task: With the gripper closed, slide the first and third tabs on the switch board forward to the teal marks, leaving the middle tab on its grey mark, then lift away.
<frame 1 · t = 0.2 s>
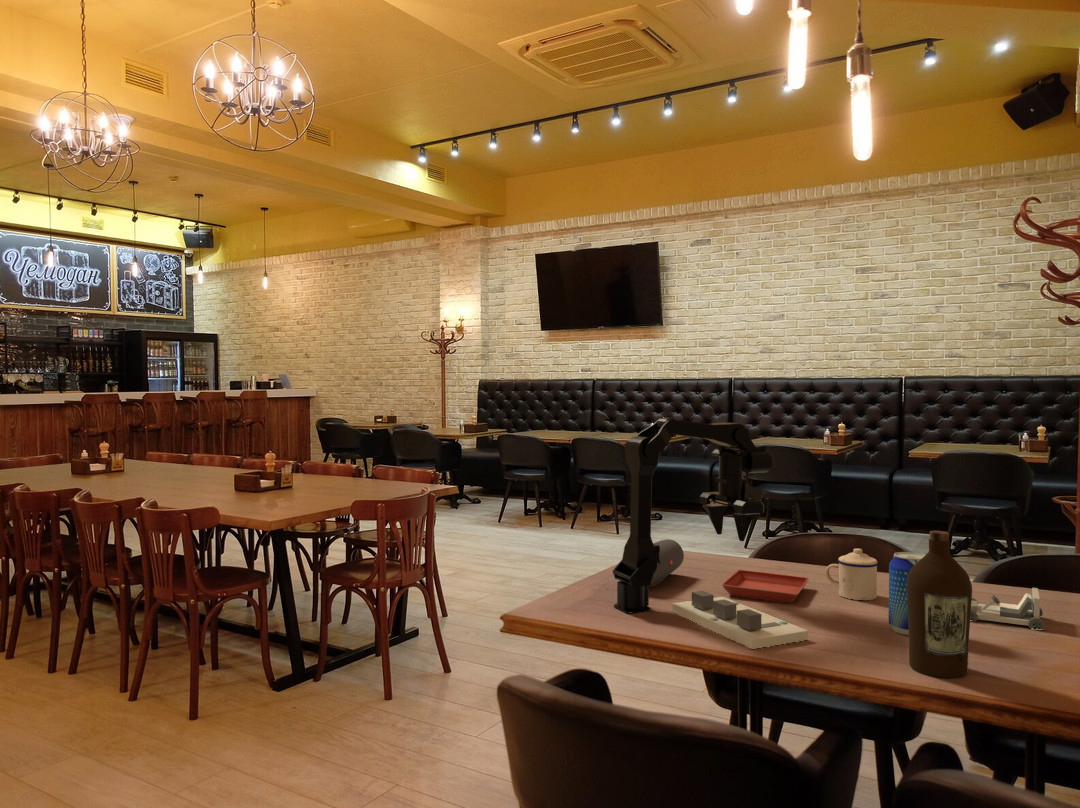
hand: (730, 537, 191), 14 cm above the table, tool pointing down, fingers open, 9 cm apart
tab 2: (724, 609, 166), point 4 cm above the table, slide at 0.0 cm
bluetooth speaker: (654, 583, 205), on the table
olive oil: (937, 670, 141), on the table
tab 3: (749, 619, 159), point 4 cm above the table, slide at 0.0 cm
teacup with lid: (851, 596, 191), on the table
plant saucer: (766, 594, 195), on the table
beer can: (910, 632, 164), on the table
toy car: (995, 620, 173), on the table
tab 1: (702, 600, 174), point 4 cm above the table, slide at 0.0 cm
switch board: (736, 625, 167), on the table
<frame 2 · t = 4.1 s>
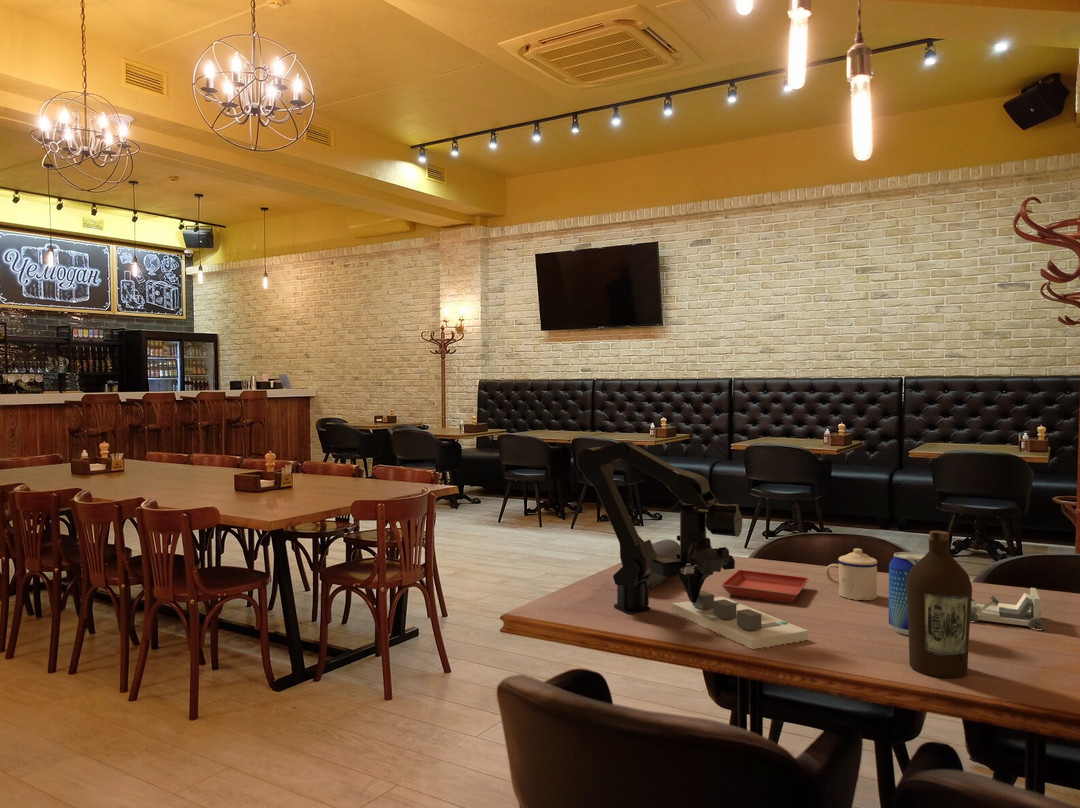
hand: (693, 602, 172), 4 cm above the table, tool pointing down, fingers closed
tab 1: (703, 600, 174), point 4 cm above the table, slide at 0.2 cm, touching gripper
everything else where it was.
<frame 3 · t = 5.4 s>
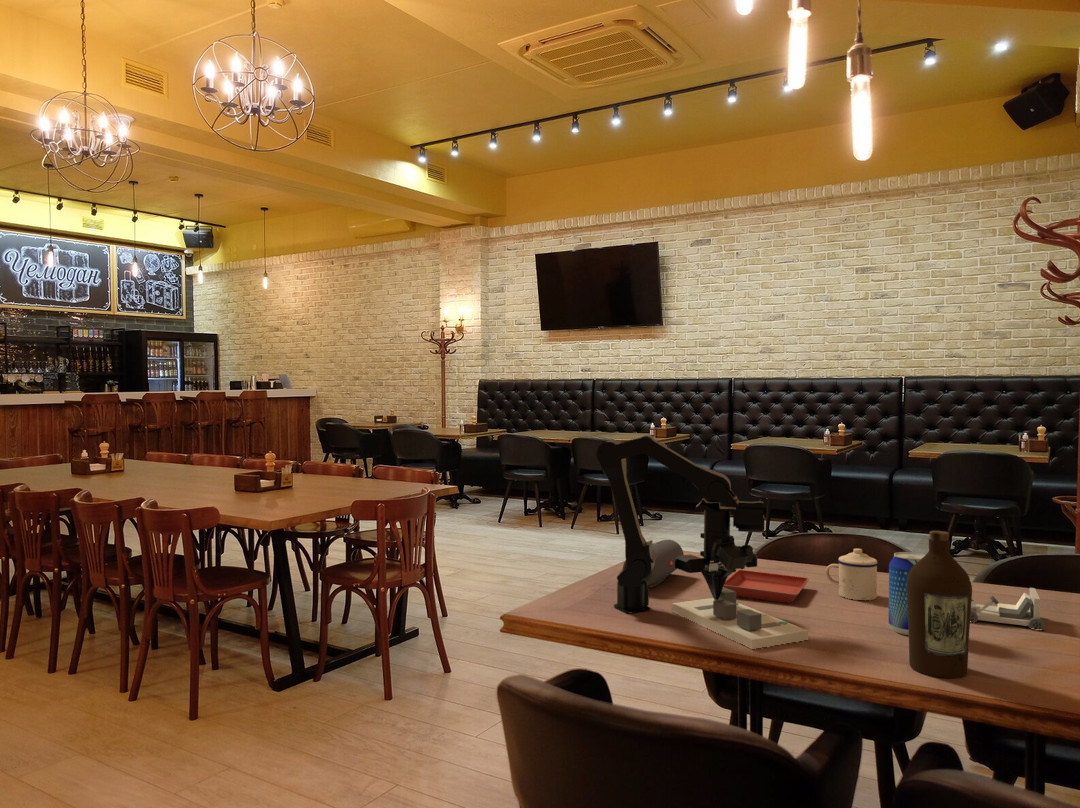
hand: (716, 599, 175), 4 cm above the table, tool pointing down, fingers closed
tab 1: (725, 597, 176), point 4 cm above the table, slide at 6.2 cm, touching gripper
everything else where it was.
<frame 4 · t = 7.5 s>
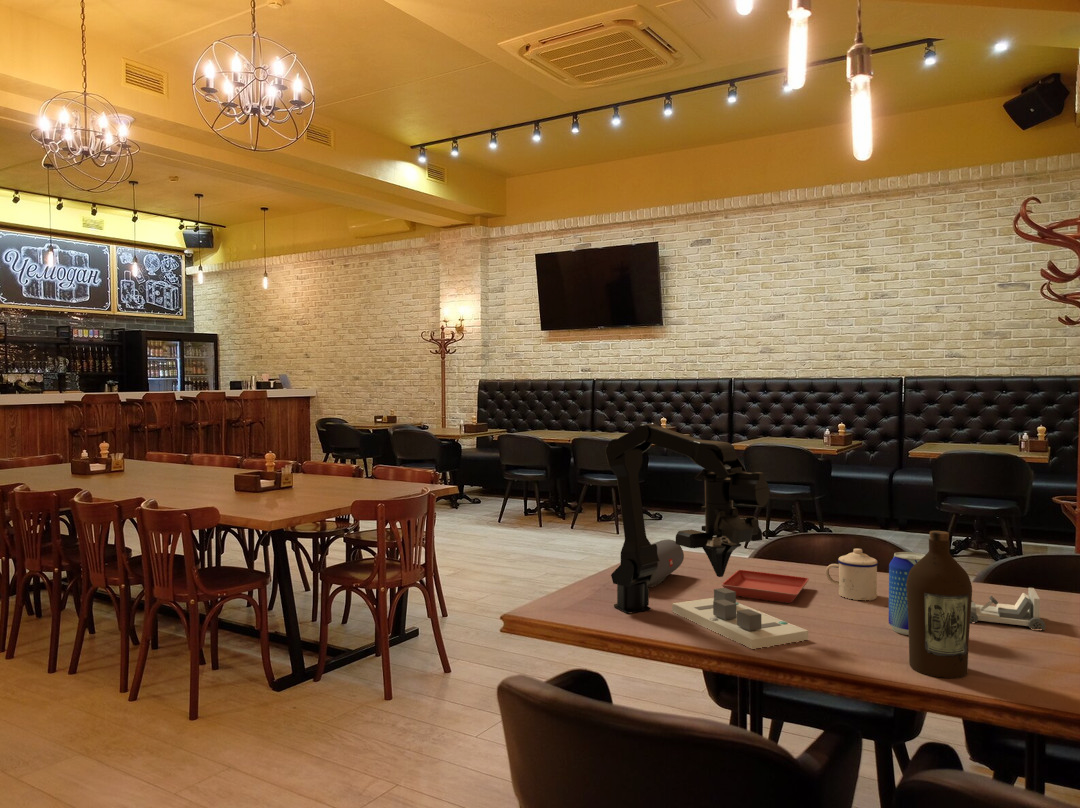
hand: (719, 576, 163), 11 cm above the table, tool pointing down, fingers closed
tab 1: (724, 597, 176), point 4 cm above the table, slide at 6.1 cm
everything else where it was.
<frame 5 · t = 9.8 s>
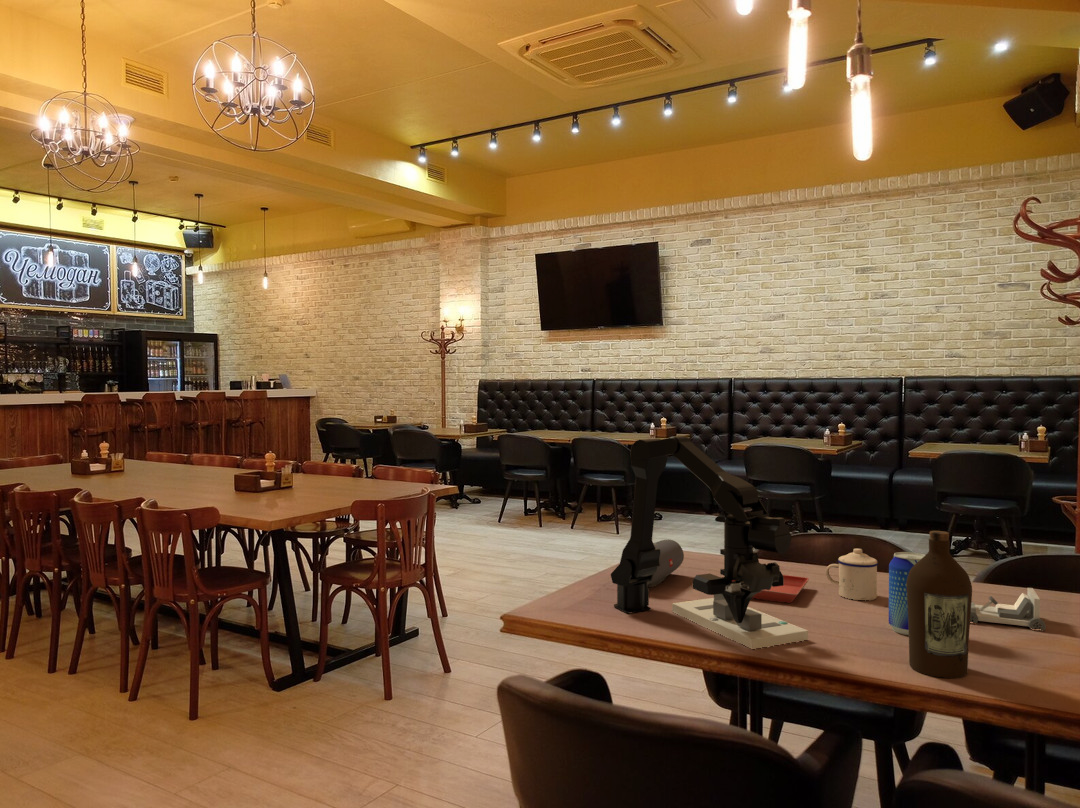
hand: (738, 622, 158), 4 cm above the table, tool pointing down, fingers closed
tab 3: (749, 619, 159), point 4 cm above the table, slide at 0.0 cm, touching gripper
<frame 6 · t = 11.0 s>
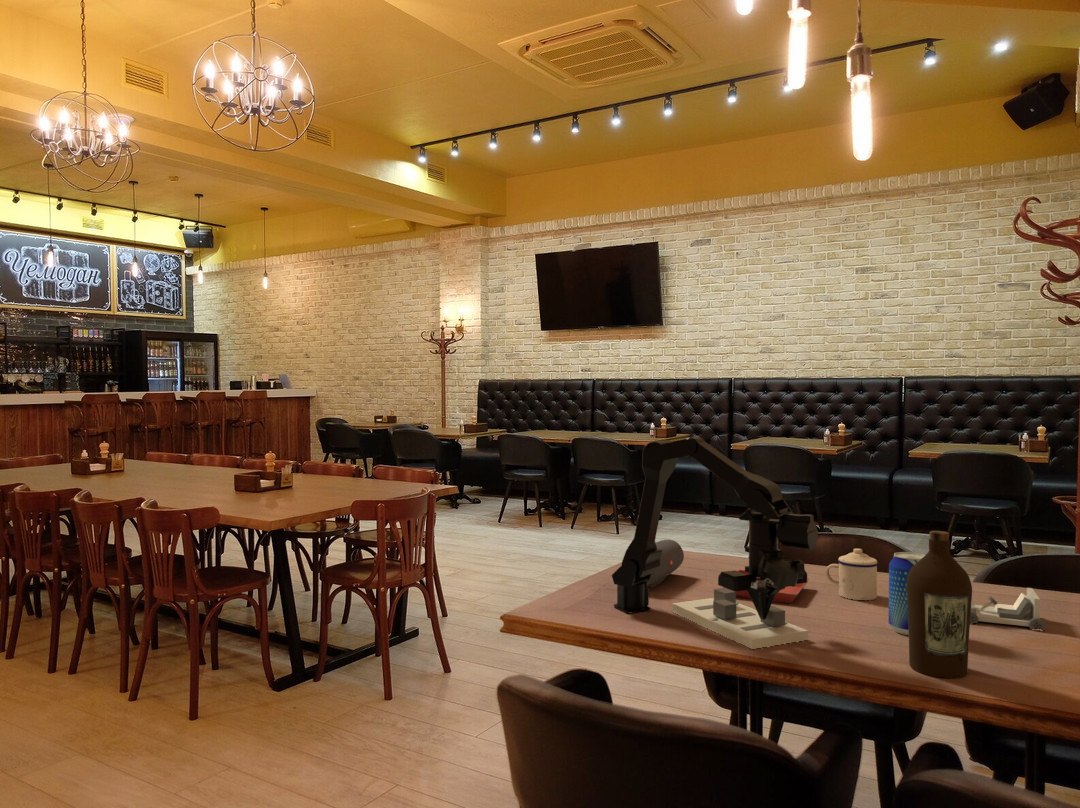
hand: (762, 618, 160), 4 cm above the table, tool pointing down, fingers closed
tab 3: (772, 616, 161), point 4 cm above the table, slide at 6.1 cm, touching gripper
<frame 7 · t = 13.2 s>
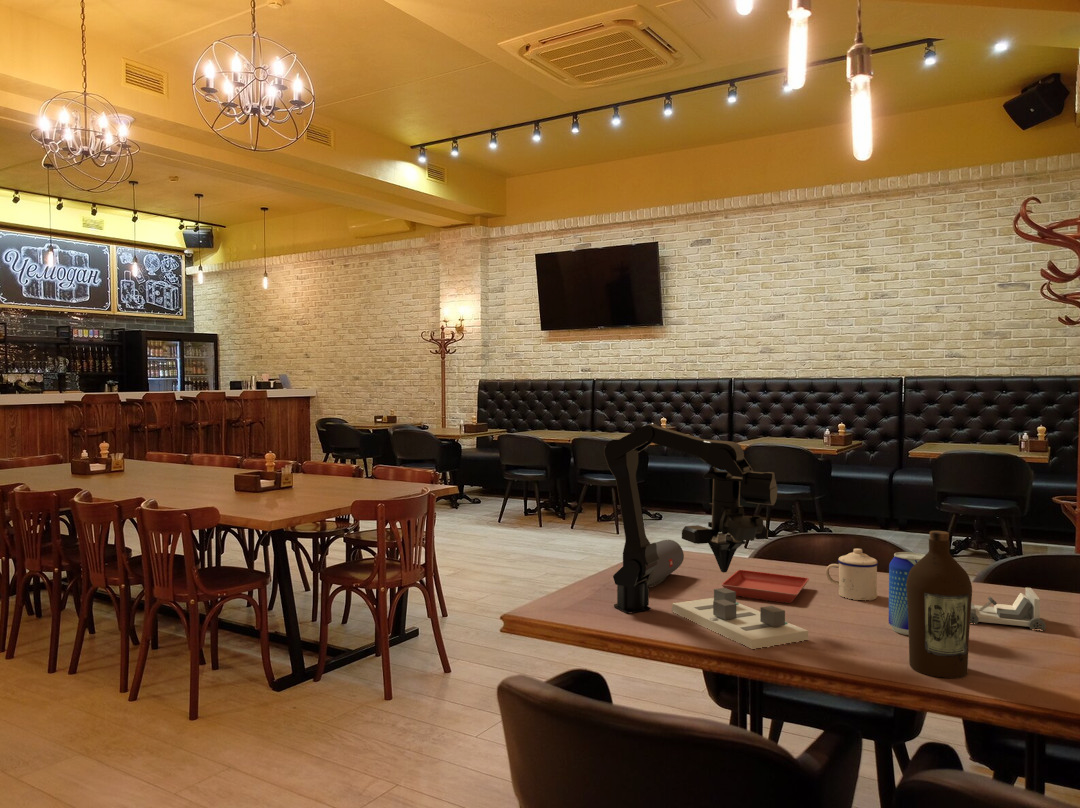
hand: (723, 572, 169), 11 cm above the table, tool pointing down, fingers closed
tab 3: (772, 616, 161), point 4 cm above the table, slide at 6.1 cm
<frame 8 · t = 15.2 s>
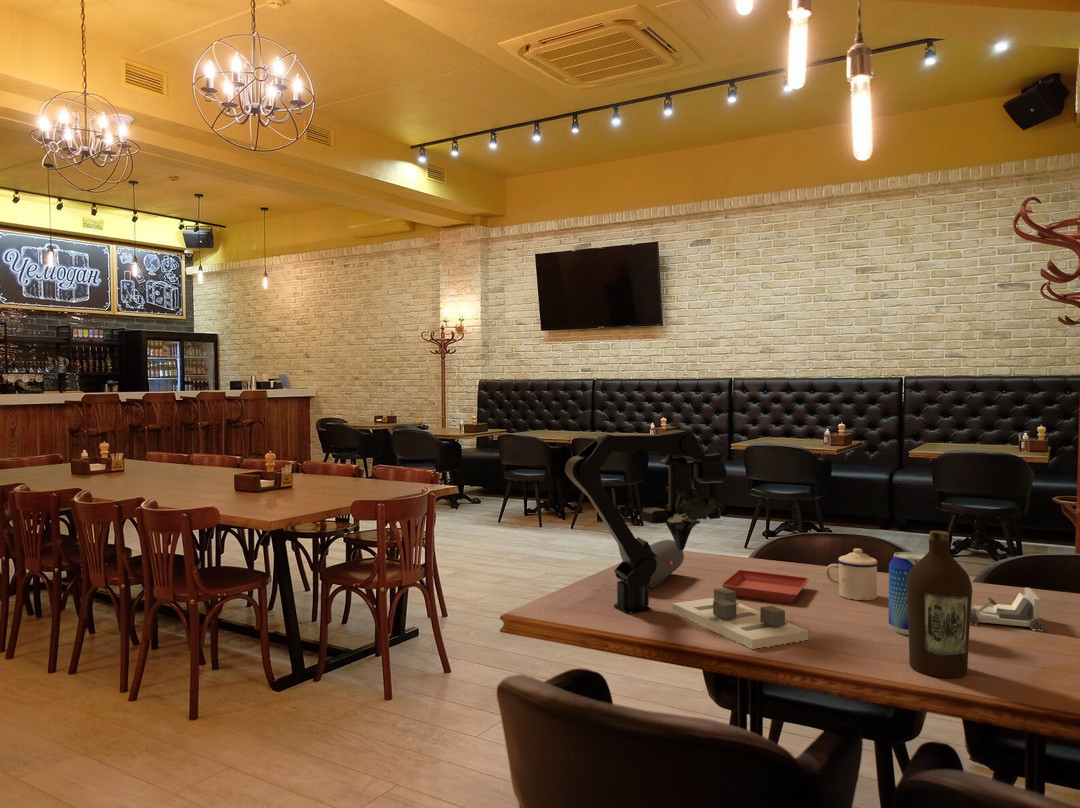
hand: (681, 550, 183), 13 cm above the table, tool pointing down, fingers closed
at the end: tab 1 slide at 6.1 cm; tab 3 slide at 6.1 cm; tab 2 slide at 0.0 cm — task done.
